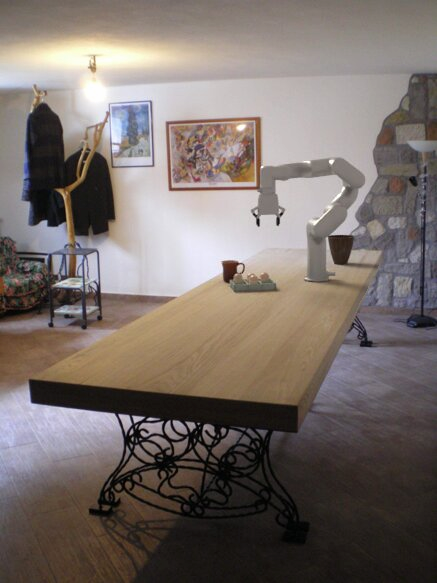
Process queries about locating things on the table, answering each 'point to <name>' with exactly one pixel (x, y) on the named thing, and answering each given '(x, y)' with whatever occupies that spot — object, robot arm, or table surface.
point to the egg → (253, 279)
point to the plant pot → (340, 247)
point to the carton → (243, 284)
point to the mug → (230, 269)
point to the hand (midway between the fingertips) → (268, 226)
